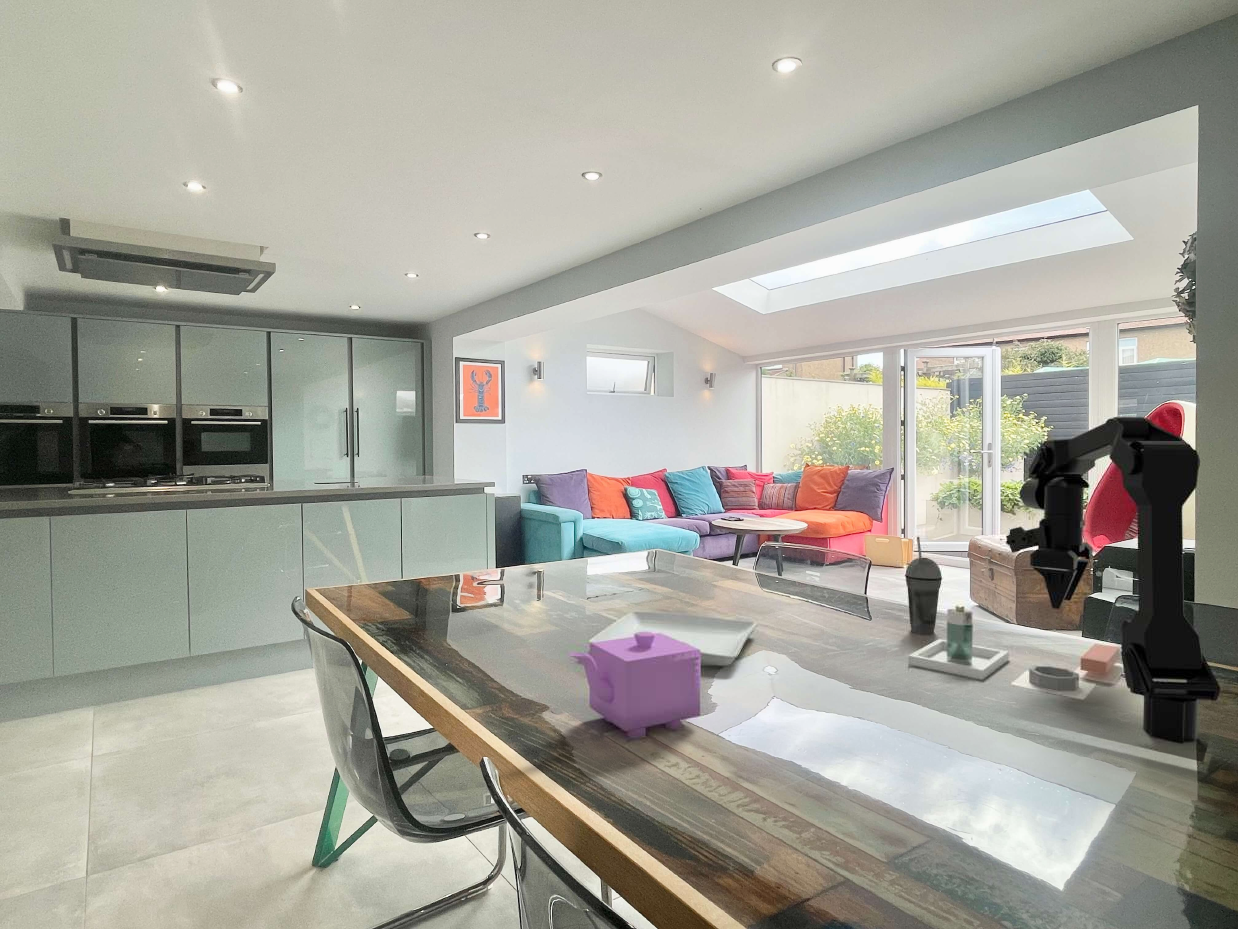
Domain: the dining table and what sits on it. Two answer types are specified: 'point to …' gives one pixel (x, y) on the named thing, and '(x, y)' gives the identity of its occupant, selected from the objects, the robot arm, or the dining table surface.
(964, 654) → the silver cell
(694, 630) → the square plate
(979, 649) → the white rectangular tray
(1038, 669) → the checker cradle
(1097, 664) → the bar
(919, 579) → the beverage cup
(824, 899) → the dining table surface
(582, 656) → the teapot
